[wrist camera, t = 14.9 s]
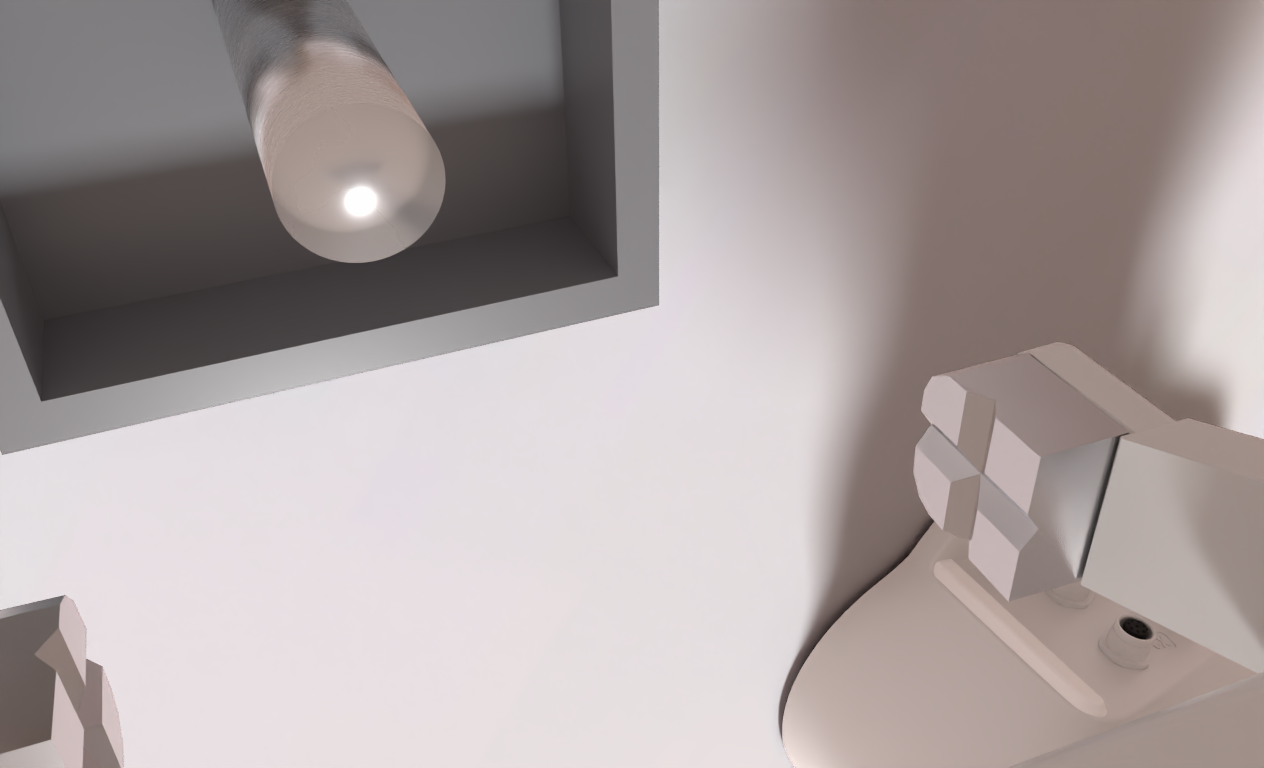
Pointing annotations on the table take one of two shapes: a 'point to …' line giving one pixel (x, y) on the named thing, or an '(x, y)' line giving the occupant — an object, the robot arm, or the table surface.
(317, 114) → the lock pin
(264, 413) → the table surface
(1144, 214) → the table surface
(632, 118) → the tray
